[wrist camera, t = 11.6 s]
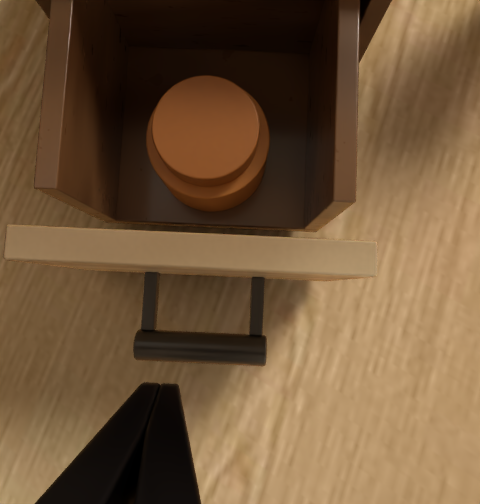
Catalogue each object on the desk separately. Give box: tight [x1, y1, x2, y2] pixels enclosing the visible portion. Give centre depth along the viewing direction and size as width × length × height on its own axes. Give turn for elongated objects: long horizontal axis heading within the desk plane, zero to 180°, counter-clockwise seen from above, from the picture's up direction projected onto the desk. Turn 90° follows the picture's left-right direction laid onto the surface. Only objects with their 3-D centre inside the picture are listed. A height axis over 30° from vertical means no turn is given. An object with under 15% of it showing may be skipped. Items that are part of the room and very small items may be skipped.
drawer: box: [4, 0, 378, 366], centre depth 17 cm, size 17×12×8 cm
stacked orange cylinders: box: [146, 75, 270, 212], centre depth 18 cm, size 5×5×4 cm
